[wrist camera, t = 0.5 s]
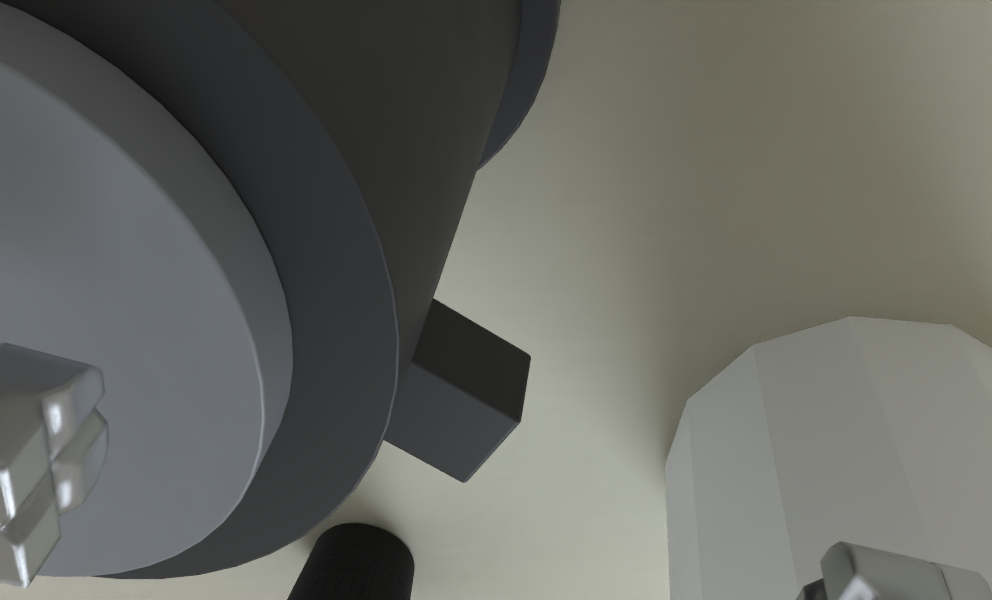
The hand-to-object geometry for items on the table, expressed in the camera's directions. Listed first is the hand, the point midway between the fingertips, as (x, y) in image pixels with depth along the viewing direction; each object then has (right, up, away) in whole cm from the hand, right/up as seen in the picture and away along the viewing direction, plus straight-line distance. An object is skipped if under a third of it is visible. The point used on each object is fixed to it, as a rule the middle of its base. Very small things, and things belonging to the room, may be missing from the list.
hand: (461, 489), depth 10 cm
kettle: (-5, +11, +18) cm, 22 cm away
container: (+15, -5, +26) cm, 30 cm away
